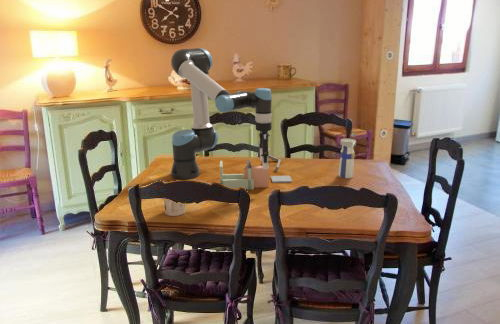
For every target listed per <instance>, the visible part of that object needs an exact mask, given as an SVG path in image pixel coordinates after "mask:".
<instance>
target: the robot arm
mask: <svg viewBox="0 0 500 324" xmlns="http://www.w3.org/2000/svg"><path fill="white" fill-rule="evenodd" d="M170 65H171V67H172V68H171V69H172V70H173V71H174V72H175V74H177V75H178V76H179V77H180V78H183V79H186V80H187V81H188V82H189V85H190V94H191V95H190V96H191V106H192V118H193V123H192V125H191V129H180V130H177V131H175V132H174V133H173V134H172V139H171V140H172V141H171V144H172V157H173V159H172V160H173V163H172V166H171V170H170V176H171V178H174V179H178V180H179V179H180V180H187V179H194V178H197V177H199V176H200V174H201V173H200V171H201V170H200V168H199V165H198V162H197V160H196V159H197V157H196V154H197V153H201V152H204V151H209V150H211V149H214V148H215V147H216V146H217V145H218V141H219V135H218V132H217V130H216V129H215V128H214V126H213V124H212V123H210V122H211V121H210V110H209V99H208V98H210V99H211V100H212V101H213V102H214V103H215V104H214V105H215V107H216V109H217V111H219V112H221V113H229V112H233V111H235V110H241V109H247V108H251V109H255V110H254V111H255V114H254V118H255V130H256V131H257V132H259V133H258V135H259V144H258V145H259V162H261V164H262V165H261V166H262V169H268V167H269V158H268V155H270V154H269V153H268V148H269V134H268V131H269V132H270V131H271V130H272V125H273V124H272V117H273V116H274V115H273V114H272V103H273V102H272V90H271V89H270V88H266V87H258V88H256V89H255V90H254V91H248V90H247V91H246V90H238V91H237V92H235V93H230V91H228V90H226V89H225V88H224V87H223V86H221V85H220V84H219V83H217V82H216V81H215V80H214V79H212V78H211V77H210V76H209V73H210V72H209V71H210V70H211V69H212V66H213V58H212V55H211V53H210V52H209V51H208V49H205V48H199V47H197V48H180V49H177V50H176V51H175V52H174V53H173V54H172V56H171V59H170Z"/></svg>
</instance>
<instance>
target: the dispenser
mask: <svg viewBox="0 0 500 324" xmlns="http://www.w3.org/2000/svg"><path fill="white" fill-rule="evenodd" d="M223 164H224V163H223V160H220V161H219V177H220V178H219V181H220V183H219V185H220V184H222V185H225V186H227V187H231V188H239V187H243V188H245V189H247V190H254V189H255V187H254V179H251V166H252V163H251V160H250V159H249V160H246V166H247V167H248V179H244V173H225V174H224V167H223ZM247 190H246V191H247Z"/></svg>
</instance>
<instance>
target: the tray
mask: <svg viewBox="0 0 500 324" xmlns="http://www.w3.org/2000/svg"><path fill="white" fill-rule="evenodd" d="M270 179H271V182H272V183H273V184H276V183H277V184H278V183H279V184H283V183H286V184H288V183H293V180H292V177H291V176H290V175H270ZM272 183H271V184H272Z"/></svg>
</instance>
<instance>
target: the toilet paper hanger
mask: <svg viewBox="0 0 500 324" xmlns="http://www.w3.org/2000/svg"><path fill="white" fill-rule="evenodd" d="M270 150H271V148H270V147H268V154H269V152H270ZM268 159H270V160H273V161H275V162H276V163H277V164H276V166H275V169H274V172H278V170H279V168H280V164H281V161H282V159H281V158H278V157H275V156H272V155H270V154H269V155H268Z"/></svg>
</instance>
